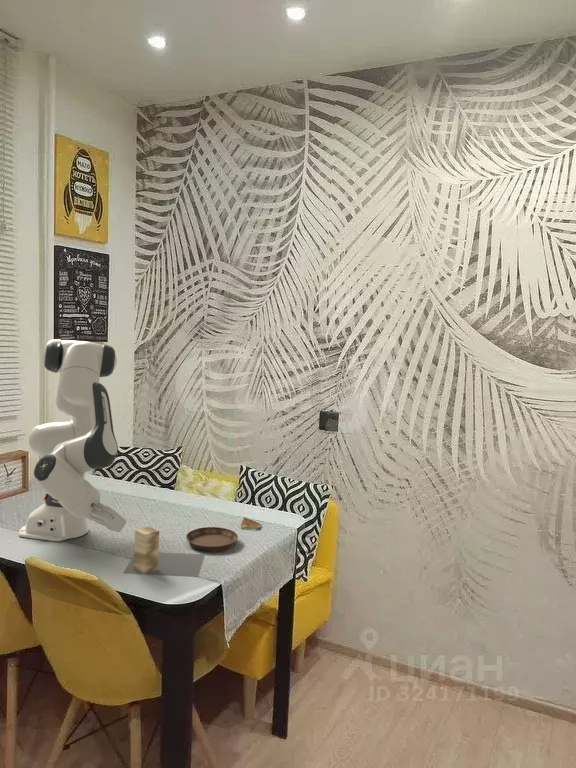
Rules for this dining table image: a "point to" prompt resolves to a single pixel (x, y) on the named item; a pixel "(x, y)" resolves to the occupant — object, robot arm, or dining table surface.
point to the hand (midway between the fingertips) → (113, 527)
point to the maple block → (146, 550)
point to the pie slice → (249, 524)
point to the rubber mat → (173, 565)
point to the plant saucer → (212, 538)
